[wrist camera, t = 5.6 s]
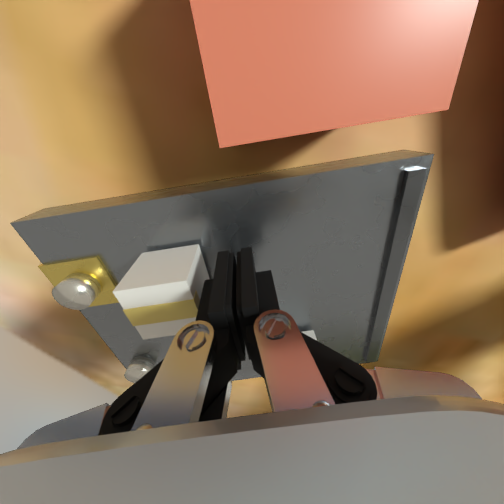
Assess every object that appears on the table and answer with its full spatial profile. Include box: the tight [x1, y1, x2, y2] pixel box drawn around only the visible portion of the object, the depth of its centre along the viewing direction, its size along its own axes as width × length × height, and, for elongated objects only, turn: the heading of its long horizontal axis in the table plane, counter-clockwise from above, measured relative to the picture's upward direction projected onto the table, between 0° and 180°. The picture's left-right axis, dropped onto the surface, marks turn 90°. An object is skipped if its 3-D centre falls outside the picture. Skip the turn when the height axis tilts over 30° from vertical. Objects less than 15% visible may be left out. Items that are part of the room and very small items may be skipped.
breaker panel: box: [10, 150, 434, 383], centre depth 14 cm, size 20×16×3 cm
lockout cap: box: [190, 0, 479, 148], centre depth 7 cm, size 6×6×6 cm
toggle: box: [112, 244, 210, 340], centre depth 10 cm, size 3×3×3 cm
